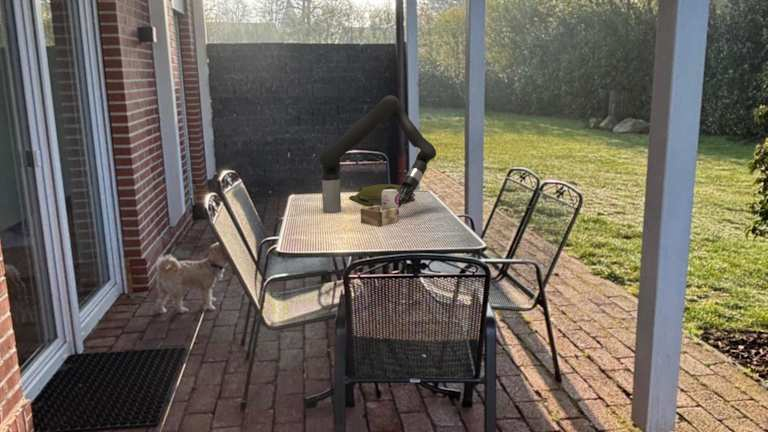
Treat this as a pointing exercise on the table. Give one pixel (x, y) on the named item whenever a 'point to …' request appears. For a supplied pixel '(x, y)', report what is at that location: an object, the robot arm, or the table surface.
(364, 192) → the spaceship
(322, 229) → the table surface
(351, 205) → the table surface
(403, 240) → the table surface
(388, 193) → the supplement can
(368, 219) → the cradle
